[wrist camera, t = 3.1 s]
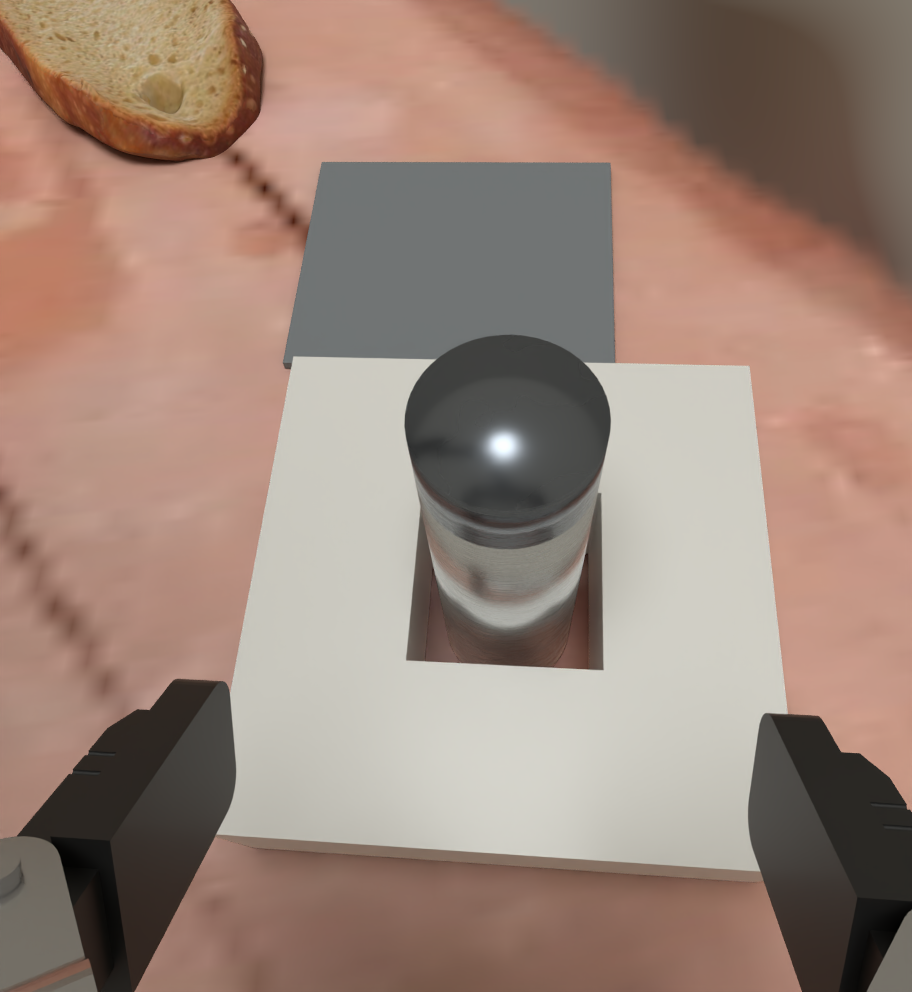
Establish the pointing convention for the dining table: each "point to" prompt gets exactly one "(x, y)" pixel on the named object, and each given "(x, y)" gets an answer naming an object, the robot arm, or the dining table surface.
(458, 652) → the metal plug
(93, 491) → the dining table surface
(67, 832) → the robot arm
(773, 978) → the dining table surface
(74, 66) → the slice of bread
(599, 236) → the rubber mat
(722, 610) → the socket housing
